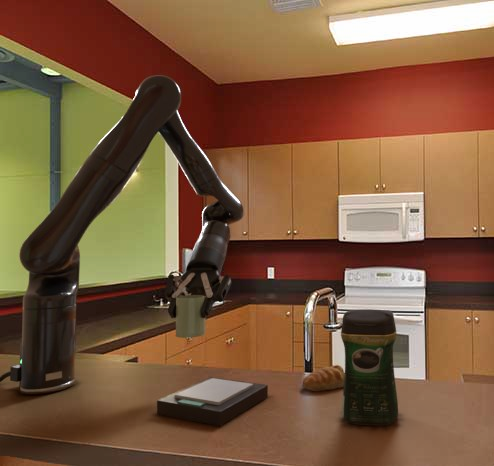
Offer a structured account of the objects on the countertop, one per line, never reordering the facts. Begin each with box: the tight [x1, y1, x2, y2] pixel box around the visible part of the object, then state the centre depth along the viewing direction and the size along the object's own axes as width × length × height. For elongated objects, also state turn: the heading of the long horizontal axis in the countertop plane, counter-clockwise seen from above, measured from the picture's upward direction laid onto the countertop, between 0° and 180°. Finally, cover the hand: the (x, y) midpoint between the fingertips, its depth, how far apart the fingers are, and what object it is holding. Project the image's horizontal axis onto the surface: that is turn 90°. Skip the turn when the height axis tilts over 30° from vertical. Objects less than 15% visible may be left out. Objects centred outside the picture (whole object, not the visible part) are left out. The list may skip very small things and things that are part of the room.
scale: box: [156, 376, 269, 427], centre depth 75 cm, size 14×14×3 cm
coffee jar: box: [340, 308, 399, 426], centre depth 70 cm, size 10×8×19 cm
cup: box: [175, 294, 207, 339], centre depth 85 cm, size 6×6×8 cm
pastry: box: [301, 364, 345, 392], centre depth 85 cm, size 9×7×4 cm
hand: (187, 315), depth 83 cm, fingers closed on cup, 6 cm apart
